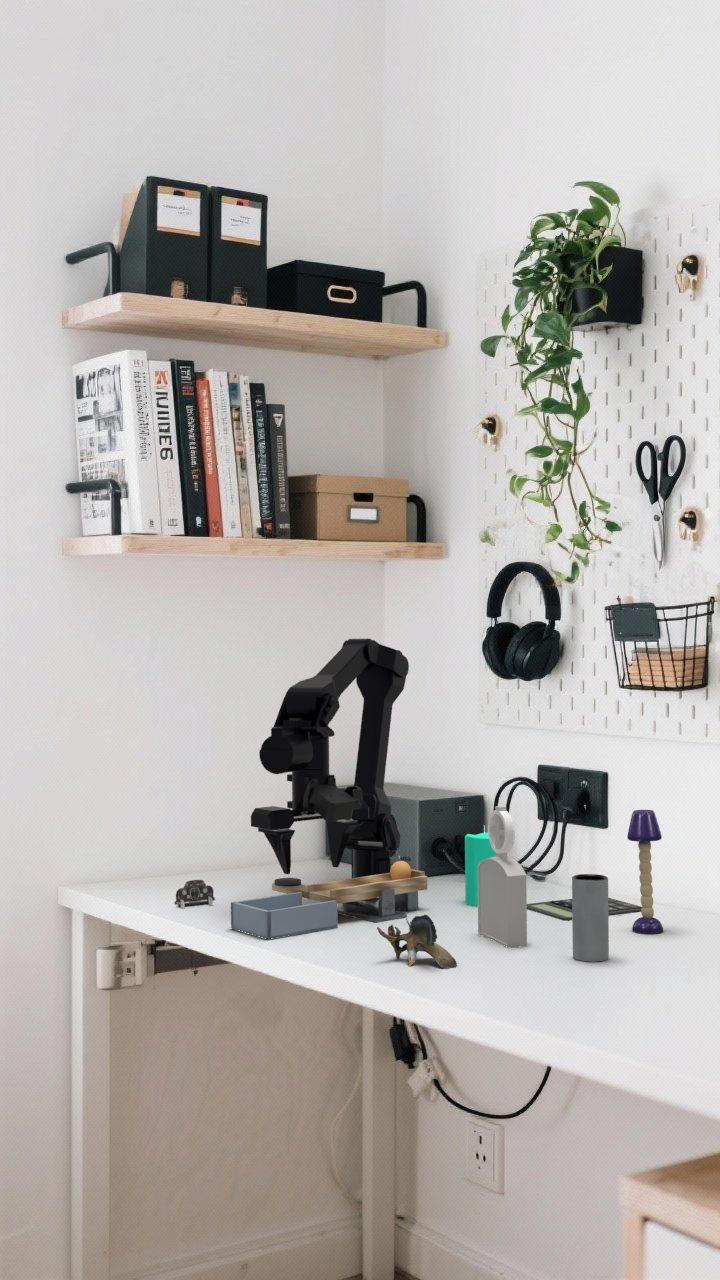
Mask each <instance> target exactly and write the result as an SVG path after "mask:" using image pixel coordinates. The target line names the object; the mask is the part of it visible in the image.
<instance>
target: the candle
mask: <svg viewBox="0 0 720 1280" xmlns="http://www.w3.org/2000/svg"><path fill="white" fill-rule="evenodd" d="M495 856H496V853H495V851H494V850H493V849H492V847H491V845H490V841H489V837H488V831H487V832H486V825H485V824H483V832H481V833H477V834H471V833H467V834H466V835H465V836H464V869H465V870H464V871H465V872H464V875H465V876H464V879H465V881H464V882H465V883H464V886H465V888H464V890H465V892H464V893H465V896H464V897H465V901H464V902H465V904H466V905H468V906H472V907H478V864H479V863H480V861H482V860H483V859H486V858H492V857H495Z"/></svg>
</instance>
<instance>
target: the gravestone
mask: <svg viewBox="0 0 720 1280" xmlns="http://www.w3.org/2000/svg"><path fill="white" fill-rule="evenodd" d="M494 809H495V810H494ZM494 809H493V810H492V811H491V813H490V815H489V818H488V822H487V832H488V837H489V841H490V845H491V847H492V849H493V850H494V851H495V853H496V856H495V857H492V858H486V859H483V860H482V861H480V863H479V864H478V906H477V934H479V935H480V936H482V935H483V937H484V936H485V937H484V938H487V939H489V940H491V939H492V940H491V941H493V940H494V942H495V941H496V942H495V943H497V942H498V943H497V944H499V943H500V944H499V945H501V944H502V946H504V945H505V946H504V947H506V946H507V947H506V948H508V947H511V948H520V947H519V946H522V947H527V946H528V923H527V921H528V919H527V918H528V913H527V911H528V909H527V904H528V902H527V901H528V900H527V898H528V897H527V896H528V895H527V874H526V871H525V869H524V868H523V867H522V865H521V863H519V862H518V861H517V860H515V859H513V858H511V857H510V856H508V854H509V853H510V852H511V851H512V849H513V846H514V843H515V826H514V821H513V818H512V816H511V814H510V813H509V811H507V806H505V805H497V806H495V807H494Z"/></svg>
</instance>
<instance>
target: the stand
mask: <svg viewBox="0 0 720 1280" xmlns="http://www.w3.org/2000/svg"><path fill="white" fill-rule="evenodd" d="M396 909H397V910H398V909H399V910H403V911H406V912H412V911H416V910H419V891H415V892H408V893H402V894H396V895H395V889H384V890H378V897H377V898H371V899H365V900H359V901H353V902H346V903H342V906H337V914H339V915H343V916H348V917H351V918H356V919H360V920H364V921H369V922H372V923H381V922H386V921H391V920H397V919H402V918H408V913H406V912H403V911H402V912H401V911H399V910H398V911H397V910H396Z"/></svg>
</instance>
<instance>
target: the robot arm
mask: <svg viewBox="0 0 720 1280" xmlns="http://www.w3.org/2000/svg"><path fill="white" fill-rule="evenodd" d="M409 663H410V662H409V660H408V658H407V657H406V656H405V655H404V654H403V652H402V651H401V650H398V649H396V648H393V647H390V646H386V645H384V644H381V643H379V642H377V641H376V640H374V639H372V638H348V639H346V640H345V641H344V642H343V643H342V646H341V648H340V649H339V650H338V651H337V653H335V655H334V656H333V657H332V658H331V659H330V660H329V661H328V662H327V663H326V664H325V665H324V666H323V667H322V668H321V669H320V671H319V672H317V674H315V675H313V677H310V678H305V679H303V680H300V681H298V682H297V683H295V684H293V685H291V686H290V687H289V688H288V689H287V691H286V693H285V694H284V697H283V700H282V702H281V705H280V707H279V711H278V713H277V716H276V719H275V722H274V725H273V727H271V730H270V736H268V737H267V738H265V740H264V741H263V743H262V744H261V746H260V749H259V760H260V763H261V765H262V766H263V768H264V769H265V770H266V771H267V772H268V773H270V774H274V775H281V774H285V773H289V774H286V781H287V782H289V783H290V782H291V800H289V801H286V805H287V807H281V806H274V805H272V806H263V807H262V806H261V807H255V808H253V809H254V810H253V811H252V813H251V815H250V827H253V828H257V831H258V832H259V833H263V834H264V836H265V838H266V840H267V841H268V843H269V845H270V847H271V848H272V850H273V853H274V855H275V857H276V858H277V861H278V863H279V865H280V867H281V870H282V872H283V874H284V875H290V874H291V869H292V867H291V866H292V858H291V855H292V851H291V850H292V849H291V848H292V847H291V846H292V845H291V844H292V843H291V842H292V838H293V836H294V834H295V833H296V830H295V829H292V828H291V827H292V826H293V824H294V823H296V822H304V821H305V822H306V821H313V820H314V821H315V820H321V819H322V820H324V821H326V829H327V839H328V848H329V855H330V861H331V866H332V867H333V868H339V867H340V863H341V861H342V858H343V855H344V852H345V849H351V850H350V851H351V852H350V853H351V854H350V855H351V857H350V858H351V860H350V861H351V878H358V877H365V876H372V875H378V874H385V873H390V869H391V866H392V865H391V858H390V856H391V855H390V854H391V851H397V850H398V849H399V848H400V844H401V834H400V832H399V829H398V827H397V826H396V824H395V822H394V820H393V818H392V805H391V803H390V800H389V799H388V797H387V795H386V791H385V790H384V786H385V785H384V784H385V777H386V769H387V768H386V767H387V756H388V748H389V740H390V739H389V738H390V731H391V730H390V729H391V722H392V713H393V705H394V703H395V702H396V700H397V699H398V698H399V696H400V695H401V693H402V692H403V691H404V689H405V685H406V680H407V676H408V675H409V668H410V666H409V665H410V664H409ZM355 680H356V681H355ZM354 681H355V683H356V685H357V688H358V690H359V691H360V694H361V696H362V698H363V703H362V713H361V724H360V729H359V731H360V732H359V739H358V747H357V756H356V765H355V775H354V782H353V785H350V786H349V785H348V786H346V788H339V787H337V781H336V780H337V779H336V776H335V774H330V737H335V732H334V730H333V728H331V727H330V726H329V724H330V723H331V722H332V720H333V719H334V717H335V716H336V714H337V713H338V711H339V709H340V707H341V705H340V701H339V698H340V696H341V695H342V694H343V693H344V692H345V691H346V689H348V687H349V686H350V685H351V684H352V683H353V682H354ZM290 828H291V829H290Z"/></svg>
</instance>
